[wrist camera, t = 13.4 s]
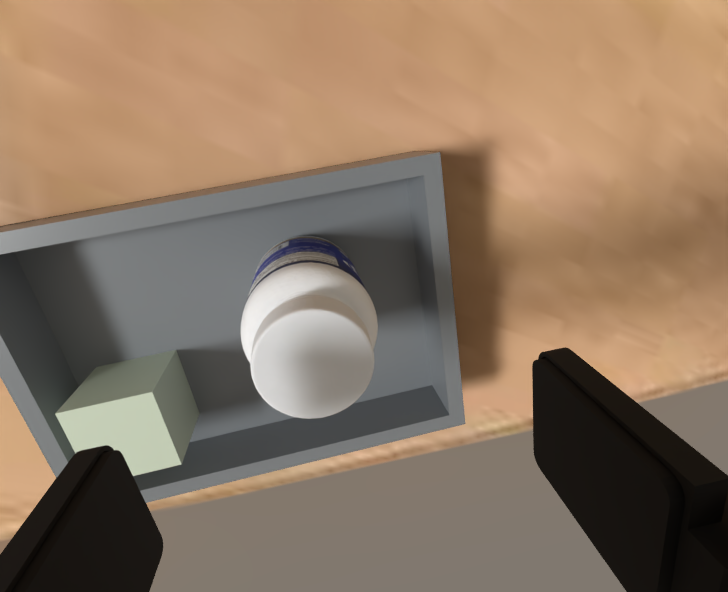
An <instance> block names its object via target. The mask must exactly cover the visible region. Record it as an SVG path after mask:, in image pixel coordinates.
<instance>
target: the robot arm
mask: <svg viewBox="0 0 728 592" xmlns="http://www.w3.org/2000/svg"><path fill="white" fill-rule="evenodd" d="M533 432H534V433H533V437H534V456H535V459H536V462H537V464H538V466H539V468H540V469H541V471H542V472H543V474H544V475H545V477H546V478H547V479H548V481H549V482H550V484H551V485H552V486H553V488H554V489H555V491H556V492H557V494H558V495H559V496H560V498H561V499H562V501H563V502H564V503H565V505H566V506H567V508H568V509H569V510H570V512H571V513H572V515H573V516H574V518H575V519H576V521H577V522H578V523H579V525H580V526H581V527H582V529H583V530H584V532H585V533H586V534H587V536H588V538H589V539H590V540H591V542H592V543H593V545H594V546H595V547H596V549H597V550H598V552H599V553H600V555H601V556H602V557H603V559H604V560H605V562H606V563H607V564H608V565H609V567H610V568H611V570H612V572H613V573H614V574H615V576H616V577H617V578H618V580H619V581H620V583H621V584H622V586H623V587H624V588H625V590H626V591H627V592H728V475H726V474H725V473H724V472H722V471H721V470H720V469H719V468H718V467H716V466H715V465H714V464H713V463H711V462H710V461H709V460H708V459H706V458H705V457H704V456H703V455H701V454H700V453H699V452H697V451H696V450H695V449H694V448H693V447H691V446H690V445H689V444H688V443H686V442H685V441H684V440H683V439H681V438H680V437H679V436H678V435H676V434H675V433H674V432H672V431H671V430H670V429H669V428H667V427H666V426H665V425H664V424H663V423H661V422H660V421H659V420H657V419H656V418H655V417H654V416H653V415H651V414H650V413H649V412H648V411H646V410H645V409H644V408H643V407H641V406H640V405H639V404H638V403H636V402H635V401H634V400H633V399H631V398H630V397H629V396H628V395H626V394H625V393H624V392H623V391H621V390H620V389H619V388H618V387H616V386H615V385H614V384H613V383H611V382H610V381H609V380H608V379H606V378H605V377H604V376H603V375H601V374H600V373H599V372H598V371H596V370H595V369H594V368H593V367H591V366H590V365H589V364H588V363H586V362H585V361H584V360H583V359H581V358H580V357H579V356H578V355H576V354H575V353H574V352H573V351H571V350H570V349H568V348H560V349H555V350H551V351H546V352H542V353H541V354H540V355H539V359H538V360H535V361H534V362H533ZM162 551H163V540H162V537H161V534H160V532H159V530H158V528H157V526H156V523H155V521H154V519H153V517H152V515H151V513H150V511H149V509H148V507H147V505H146V502H145V500H144V498H143V496H142V494H141V492H140V490H139V488H138V486H137V484H136V482H135V479H134V477H133V475H132V473H131V471H130V469H129V467H128V465H127V463H126V461H125V458H124V456H123V454H122V453H121V452H120V451H119V450H114V449H113V448H112V447H110V446H108V445H105V446H100V447H95V448H90V449H86V450H81V451H78V452H76V453H75V454H74V455H73V457H72V458H71V459H70V461H69V462H68V463H67V465H66V466H65V467H64V469H63V470H62V471H61V473H60V474H59V476H58V477H57V478H56V480H55V481H54V482H53V484H52V485H51V486H50V488H49V489H48V491H47V492H46V493H45V495H44V496H43V497H42V499H41V500H40V501H39V503H38V504H37V505H36V507H35V508H34V510H33V511H32V512H31V514H30V515H29V516H28V518H27V519H26V520H25V522H24V523H23V524H22V526H21V527H20V529H19V530H18V531H17V533H16V534H15V535H14V537H13V538H12V539H11V541H10V542H9V543H8V545H7V546H6V548H5V549H4V550H3V552H2V553H1V554H0V592H149V591H150V588H151V585H152V582H153V579H154V576H155V573H156V570H157V567H158V565H159V562H160V559H161V556H162Z"/></svg>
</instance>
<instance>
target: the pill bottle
mask: <svg viewBox="0 0 728 592" xmlns="http://www.w3.org/2000/svg"><path fill="white" fill-rule="evenodd" d="M377 332H378V323H377V315H376V311H375V308H374V305H373V302H372V300H371V298H370V296H369V294H368V292H367V290H366V288H365V286H364V284H363V283H362V281H361V279H360V277H359V275H358V273H357V271H356V269H355V267H354V265H353V263H352V262H351V260H350V259H349V257H348V256H347V255H346V253H345V252H344V251H343V250H342V249H340V248H339V247H338V246H337V245H335V244H334V243H332V242H330V241H328V240H326V239H323V238H319V237H314V236H297V237H292V238H289V239H286V240H284V241H282V242H280V243H278V244H276V245H275V246H274V247H272V248H271V249H270V250H269V251H268V252H267V253H266V254H265V255H264V256H263V258H262V259H261V261H260V263H259V264H258V267H257V269H256V272H255V275H254V279H253V282H252V286H251V289H250V292H249V295H248V298H247V301H246V303H245V306H244V310H243V315H242V320H241V342H242V346H243V350H244V352H245V355H246V357H247V359H248V361H249V362H250V368H251V376H252V379H253V382H254V385H255V387H256V389H257V391H258V393H259V394H260V395H261V397H262V398H263V399H264V400H265V401H266V402H267V403H268V404H269V405H270V406H272V407H273V408H274V409H276V410H278V411H280V412H282V413H284V414H287V415H289V416H292V417H298V418H306V419H312V418H323V417H327V416H330V415H333V414H336V413H338V412H340V411H342V410H344V409H346V408H348V407H349V406H350V405H352V404H353V403H354V402H355V401H356V400H357V399H358V398H359V397H360V396H361V395H362V394H363V393H364V391H365V390H366V388H367V387H368V385H369V383H370V380H371V378H372V374H373V370H374V351H373V349H374V346H375V343H376V338H377Z"/></svg>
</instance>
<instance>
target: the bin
mask: <svg viewBox="0 0 728 592" xmlns="http://www.w3.org/2000/svg"><path fill="white" fill-rule="evenodd" d="M297 236H314V237H319V238H323V239H326V240H328V241H330V242H332V243H334V244H335V245H337V246H338V247H339V248H340V249H342V250H343V251H344V252H345V253H346V255H347V256H348V257H349V259H350V260H351V262H352V263H353V265H354V267H355V269H356V271H357V273H358V275H359V277H360V279H361V281H362V283H363V284H364V286H365V288H366V290H367V292H368V294H369V296H370V298H371V300H372V302H373V305H374V308H375V311H376V315H377V323H378V332H377V338H376V343H375V346H374V349H373V351H374V370H373V374H372V378H371V380H370V383H369V385H368V387H367V388H366V390H365V391H364V393H363V394H362V395H361V396H360V397H359V398H358V399H357V400H356V401H355V402H354V403H353V404H352V405H350V406H349V407H348V408H346V409H344V410H342V411H340V412H338V413H336V414H333V415H330V416H327V417H323V418H312V419H306V418H298V417H292V416H289V415H287V414H284V413H282V412H280V411H278V410H276V409H274V408H273V407H272V406H270V405H269V404H268V403H267V402H266V401H265V400H264V399H263V398H262V397H261V395H260V394H259V393H258V391H257V389H256V387H255V385H254V382H253V379H252V376H251V368H250V362H249V361H248V359H247V357H246V355H245V352H244V350H243V346H242V342H241V320H242V315H243V310H244V306H245V303H246V301H247V298H248V295H249V292H250V289H251V286H252V282H253V279H254V275H255V272H256V269H257V267H258V264H259V263H260V261H261V259H262V258H263V256H264V255H265V254H266V253H267V252H268V251H269V250H270V249H271V248H272V247H274V246H275V245H276V244H278V243H280V242H282V241H284V240H286V239H289V238H292V237H297ZM173 350H176V351H177V353H178V356H179V359H180V362H181V364H182V367H183V370H184V372H185V375H186V378H187V381H188V383H189V386H190V389H191V391H192V394H193V397H194V400H195V402H196V405H197V408H198V411H199V416H198V419H197V422H196V425H195V428H194V430H193V433H192V436H191V439H190V442H189V445H188V448H187V451H186V454H185V456H184V459H183V462H182V465H177V466H173V467H169V468H165V469H161V470H157V471H152V472H148V473H144V474H140V475H136V476H133V477H134V479H135V482H136V484H137V486H138V488H139V490H140V492H141V494H142V496H143V498H144V500H145V502H146V503H147V502H151V501H155V500H159V499H163V498H167V497H171V496H175V495H179V494H183V493H187V492H192V491H196V490H200V489H204V488H208V487H212V486H216V485H220V484H224V483H228V482H232V481H236V480H240V479H244V478H248V477H252V476H256V475H260V474H264V473H268V472H272V471H277V470H281V469H285V468H289V467H293V466H297V465H301V464H305V463H309V462H313V461H317V460H321V459H325V458H329V457H333V456H337V455H341V454H345V453H349V452H353V451H357V450H362V449H366V448H370V447H374V446H378V445H382V444H386V443H390V442H394V441H398V440H402V439H406V438H410V437H414V436H418V435H422V434H426V433H430V432H434V431H438V430H443V429H447V428H451V427H455V426H459V425H463V424H465V416H464V405H463V394H462V383H461V372H460V361H459V351H458V340H457V329H456V318H455V307H454V297H453V286H452V275H451V264H450V253H449V242H448V232H447V221H446V210H445V199H444V188H443V177H442V167H441V156H440V152H421V151H413V152H407V153H402V154H396V155H391V156H385V157H380V158H374V159H369V160H363V161H358V162H352V163H346V164H341V165H335V166H330V167H324V168H319V169H313V170H308V171H302V172H297V173H291V174H286V175H280V176H275V177H269V178H264V179H258V180H253V181H247V182H242V183H236V184H231V185H225V186H220V187H214V188H209V189H203V190H197V191H192V192H186V193H181V194H175V195H170V196H164V197H159V198H153V199H148V200H142V201H137V202H131V203H126V204H120V205H115V206H109V207H104V208H98V209H93V210H87V211H82V212H76V213H71V214H65V215H60V216H54V217H48V218H43V219H37V220H32V221H26V222H21V223H15V224H10V225H4V226H0V377H1V379H2V380H3V382H4V384H5V386H6V388H7V389H8V391H9V393H10V395H11V397H12V398H13V400H14V402H15V404H16V406H17V408H18V409H19V411H20V413H21V415H22V417H23V418H24V420H25V422H26V424H27V426H28V427H29V429H30V431H31V433H32V435H33V436H34V438H35V440H36V442H37V444H38V446H39V447H40V449H41V451H42V453H43V455H44V456H45V458H46V460H47V462H48V464H49V465H50V467H51V469H52V471H53V473H54V474H55V476H56V478H57V477H58V476H59V474H60V473H61V471H62V470H63V469H64V467H65V466H66V465H67V463H68V462H69V461H70V459H71V458H72V457H73V455H74V454H75V452H74V450H73V448H72V446H71V444H70V442H69V440H68V438H67V436H66V434H65V432H64V430H63V428H62V426H61V425H60V423H59V421H58V419H57V417H56V415H55V413H56V412H57V411H58V410H59V409H60V407H61V406H62V405H63V404H64V403H65V402H66V401H67V400H68V398H69V397H70V396H71V395H72V394H73V393H74V392H75V391H76V389H77V388H78V387H79V386H80V385H81V384H82V383H83V381H84V380H85V379H86V378H87V377H88V376H89V375H90V374H91V372H92V371H93V370H94V369H95V368H96V367H99V366H103V365H108V364H113V363H117V362H122V361H127V360H131V359H136V358H141V357H145V356H150V355H155V354H159V353H164V352H168V351H173Z"/></svg>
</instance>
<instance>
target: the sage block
mask: <svg viewBox="0 0 728 592" xmlns="http://www.w3.org/2000/svg"><path fill="white" fill-rule="evenodd" d="M55 415H56V417H57V419H58V421H59V423H60V425H61V426H62V428H63V430H64V432H65V434H66V436H67V438H68V440H69V442H70V444H71V446H72V448H73V450H74V452H75V453H76V452H78V451H81V450H86V449H90V448H95V447H100V446H105V445H108V446H110V447H112V448H113V449H114V450H119V451H120V452H121V453H122V454H123V456H124V458H125V461H126V463H127V465H128V467H129V469H130V471H131V473H132V475H133V476H136V475H140V474H144V473H148V472H152V471H157V470H161V469H165V468H169V467H173V466H177V465H182V462H183V459H184V456H185V454H186V451H187V448H188V445H189V442H190V439H191V436H192V433H193V430H194V428H195V425H196V422H197V419H198V416H199V411H198V408H197V405H196V402H195V400H194V397H193V394H192V391H191V389H190V386H189V383H188V381H187V378H186V375H185V372H184V370H183V367H182V364H181V362H180V359H179V356H178V353H177V351H176V350H173V351H168V352H164V353H159V354H155V355H150V356H145V357H141V358H136V359H131V360H127V361H122V362H117V363H113V364H108V365H103V366H99V367H96V368H95V369H94V370H93V371H92V372H91V374H90V375H89V376H88V377H87V378H86V379H85V380H84V381H83V383H82V384H81V385H80V386H79V387H78V388H77V389H76V391H75V392H74V393H73V394H72V395H71V396H70V397H69V398H68V400H67V401H66V402H65V403H64V404H63V405H62V406H61V407H60V409H59V410H58V411H57V412H56V413H55Z"/></svg>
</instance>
